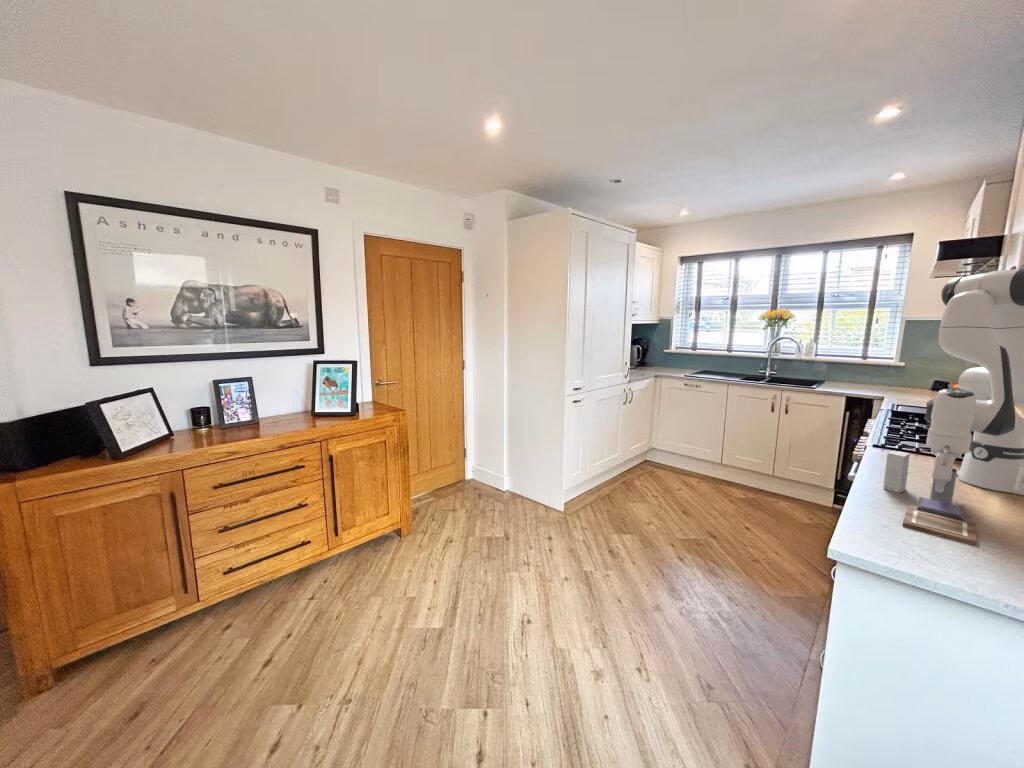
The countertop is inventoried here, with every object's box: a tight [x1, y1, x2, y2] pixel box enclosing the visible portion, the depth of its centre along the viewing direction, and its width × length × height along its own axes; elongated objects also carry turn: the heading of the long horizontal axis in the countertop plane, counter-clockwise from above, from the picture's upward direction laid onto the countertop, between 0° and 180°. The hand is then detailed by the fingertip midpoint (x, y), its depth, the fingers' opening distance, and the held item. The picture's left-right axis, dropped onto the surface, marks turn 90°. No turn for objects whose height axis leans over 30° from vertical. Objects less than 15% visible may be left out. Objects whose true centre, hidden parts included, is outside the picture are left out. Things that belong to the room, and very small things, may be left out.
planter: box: [929, 468, 958, 504], centre depth 122 cm, size 4×4×10 cm
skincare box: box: [882, 450, 911, 493], centre depth 131 cm, size 6×4×12 cm
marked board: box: [902, 507, 978, 546], centre depth 107 cm, size 13×13×1 cm
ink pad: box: [916, 496, 965, 521], centre depth 116 cm, size 10×9×2 cm
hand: (939, 487), depth 123 cm, fingers open, 8 cm apart
